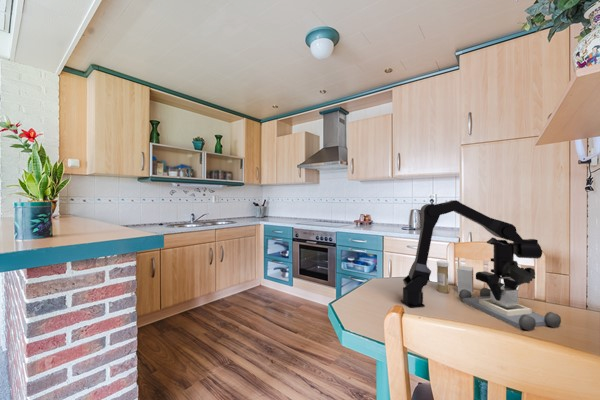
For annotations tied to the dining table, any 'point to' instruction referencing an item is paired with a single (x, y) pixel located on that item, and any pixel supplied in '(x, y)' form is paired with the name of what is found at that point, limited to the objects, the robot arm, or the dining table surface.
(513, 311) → the chassis
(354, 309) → the dining table surface
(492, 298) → the block
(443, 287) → the sprinkles bottle
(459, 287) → the small box
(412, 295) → the robot arm
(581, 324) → the dining table surface
